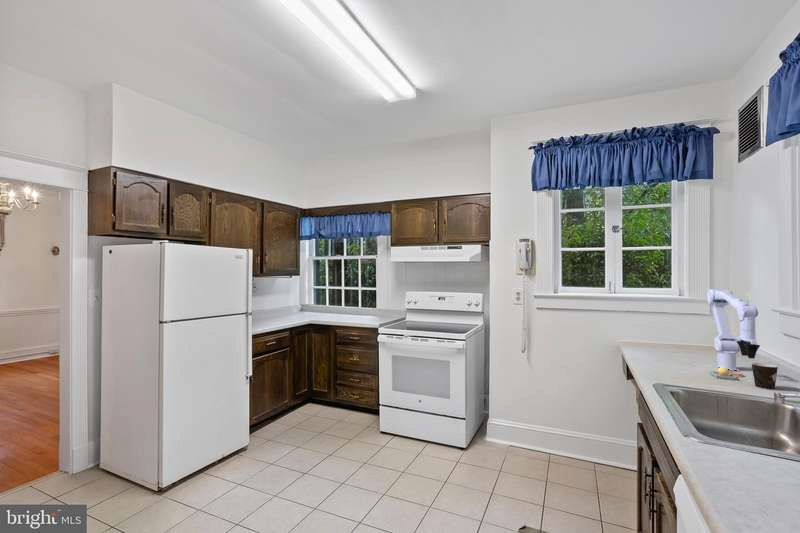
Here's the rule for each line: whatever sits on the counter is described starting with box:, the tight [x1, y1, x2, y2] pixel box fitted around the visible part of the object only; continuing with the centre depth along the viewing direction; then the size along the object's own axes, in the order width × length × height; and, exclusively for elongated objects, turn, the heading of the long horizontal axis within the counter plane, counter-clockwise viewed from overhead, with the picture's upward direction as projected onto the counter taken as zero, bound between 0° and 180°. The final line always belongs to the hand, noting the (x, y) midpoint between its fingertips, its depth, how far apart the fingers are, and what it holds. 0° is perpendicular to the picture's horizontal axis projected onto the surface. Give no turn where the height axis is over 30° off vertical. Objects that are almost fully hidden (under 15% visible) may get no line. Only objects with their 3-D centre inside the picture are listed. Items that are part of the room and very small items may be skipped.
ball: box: [717, 367, 730, 376], centre depth 189 cm, size 4×4×4 cm
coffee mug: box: [751, 362, 779, 390], centre depth 172 cm, size 12×9×10 cm
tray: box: [709, 370, 739, 381], centre depth 189 cm, size 10×8×2 cm
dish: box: [729, 370, 744, 378], centre depth 194 cm, size 8×8×1 cm
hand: (747, 356), depth 191 cm, fingers open, 7 cm apart
